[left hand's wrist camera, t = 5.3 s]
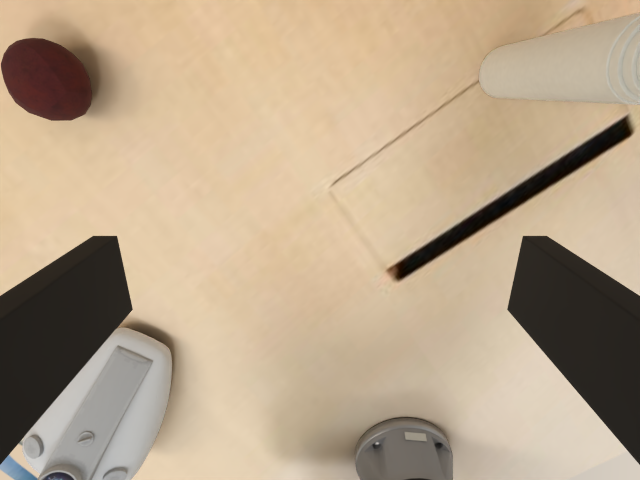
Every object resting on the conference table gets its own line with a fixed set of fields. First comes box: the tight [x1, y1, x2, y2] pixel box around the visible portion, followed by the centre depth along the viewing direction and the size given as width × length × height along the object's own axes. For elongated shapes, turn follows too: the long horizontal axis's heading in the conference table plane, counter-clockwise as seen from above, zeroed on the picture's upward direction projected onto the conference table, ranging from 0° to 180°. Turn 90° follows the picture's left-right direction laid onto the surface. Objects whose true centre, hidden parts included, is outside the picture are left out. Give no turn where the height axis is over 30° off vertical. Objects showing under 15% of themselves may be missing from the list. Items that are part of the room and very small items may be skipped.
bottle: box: [479, 13, 640, 105], centre depth 29 cm, size 5×5×25 cm
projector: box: [23, 327, 172, 480], centre depth 50 cm, size 22×23×15 cm
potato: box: [1, 38, 92, 120], centre depth 38 cm, size 7×8×7 cm
